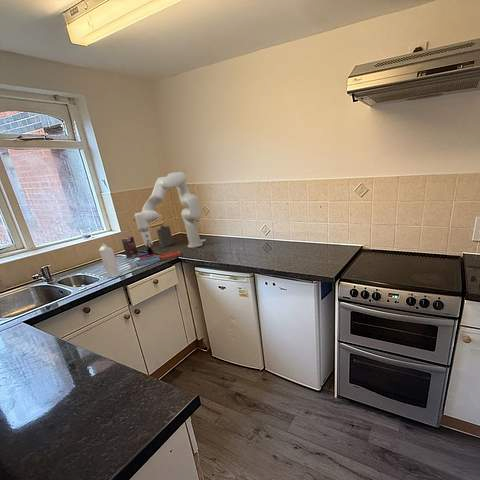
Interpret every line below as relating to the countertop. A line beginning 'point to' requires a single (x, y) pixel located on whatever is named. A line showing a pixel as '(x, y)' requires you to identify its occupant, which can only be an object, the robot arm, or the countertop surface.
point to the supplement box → (130, 247)
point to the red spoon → (147, 256)
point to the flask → (164, 236)
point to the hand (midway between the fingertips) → (150, 254)
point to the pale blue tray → (148, 260)
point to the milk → (109, 261)
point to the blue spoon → (144, 254)
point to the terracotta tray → (169, 255)
